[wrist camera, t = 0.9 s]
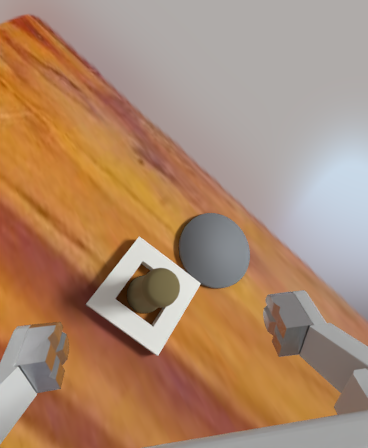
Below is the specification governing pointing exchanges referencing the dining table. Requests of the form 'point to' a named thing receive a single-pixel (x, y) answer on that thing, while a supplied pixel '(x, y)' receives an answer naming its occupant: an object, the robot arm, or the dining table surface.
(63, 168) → the dining table surface
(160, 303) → the olive pawn
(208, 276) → the charcoal mat
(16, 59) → the dining table surface
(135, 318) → the white square frame
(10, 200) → the dining table surface
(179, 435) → the dining table surface
